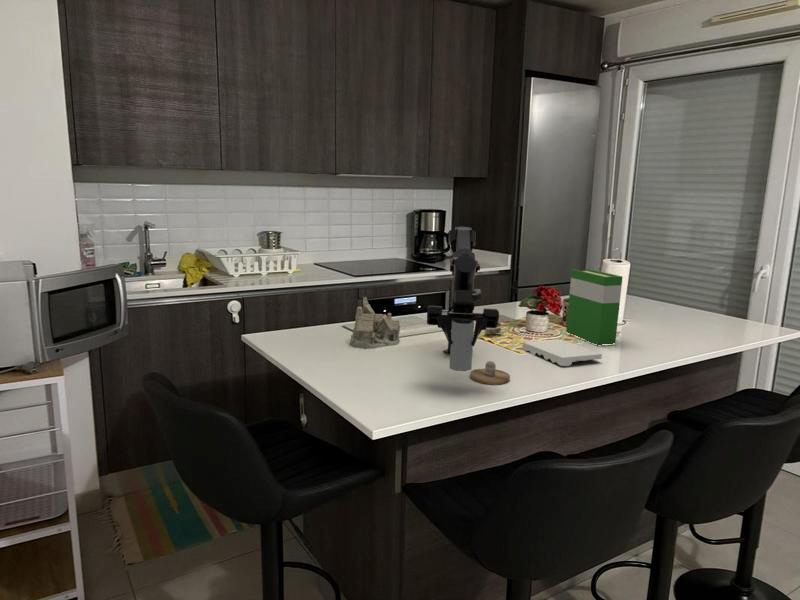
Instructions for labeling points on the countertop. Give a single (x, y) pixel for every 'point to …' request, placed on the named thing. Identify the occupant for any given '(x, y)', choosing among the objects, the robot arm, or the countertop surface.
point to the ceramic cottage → (374, 329)
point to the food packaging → (561, 351)
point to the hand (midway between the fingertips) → (461, 344)
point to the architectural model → (494, 329)
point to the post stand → (490, 375)
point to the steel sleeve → (461, 344)
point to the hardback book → (594, 306)
